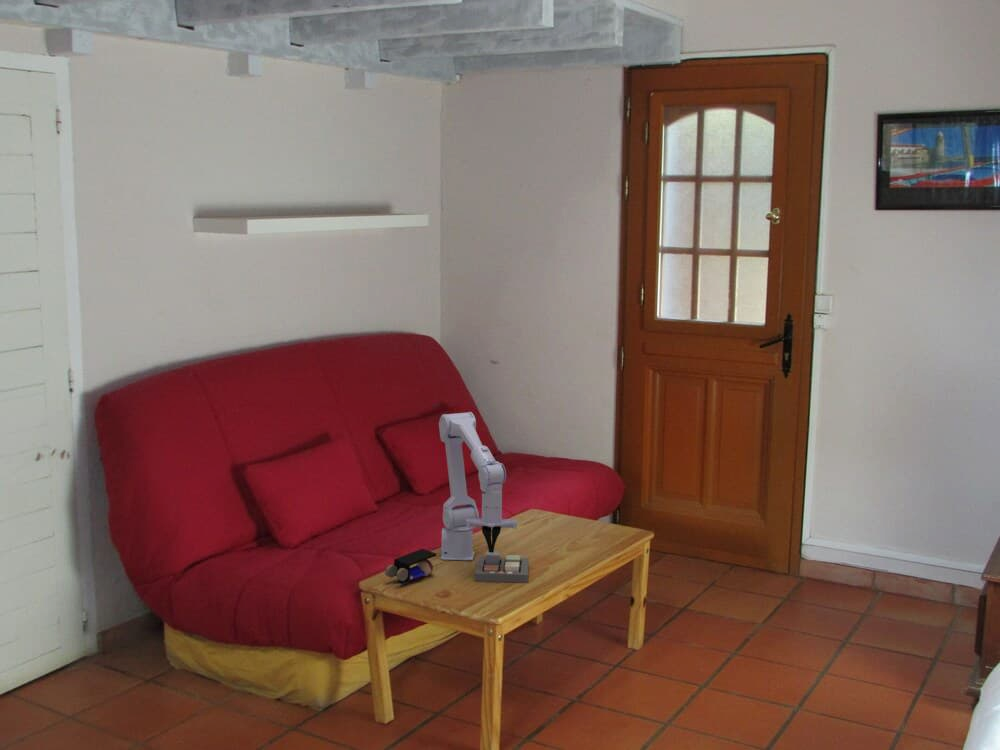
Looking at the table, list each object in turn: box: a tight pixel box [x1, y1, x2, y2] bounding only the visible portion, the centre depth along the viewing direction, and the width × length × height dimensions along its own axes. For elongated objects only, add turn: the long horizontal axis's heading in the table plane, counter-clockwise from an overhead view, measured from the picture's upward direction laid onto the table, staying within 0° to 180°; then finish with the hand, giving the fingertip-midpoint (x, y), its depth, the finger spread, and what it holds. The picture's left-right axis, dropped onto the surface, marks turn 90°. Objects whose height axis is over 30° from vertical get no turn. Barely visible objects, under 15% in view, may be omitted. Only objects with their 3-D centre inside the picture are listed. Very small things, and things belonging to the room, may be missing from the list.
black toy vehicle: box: [384, 548, 437, 586], centre depth 327 cm, size 7×8×15 cm
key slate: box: [484, 550, 501, 565], centre depth 336 cm, size 4×4×3 cm
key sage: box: [505, 554, 521, 566], centre depth 336 cm, size 4×4×3 cm
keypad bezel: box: [473, 556, 530, 584], centre depth 334 cm, size 15×15×3 cm
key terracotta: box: [484, 565, 499, 572], centre depth 331 cm, size 4×4×2 cm
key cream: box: [505, 562, 519, 572], centre depth 330 cm, size 4×4×2 cm
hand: (491, 551), depth 330 cm, fingers closed
